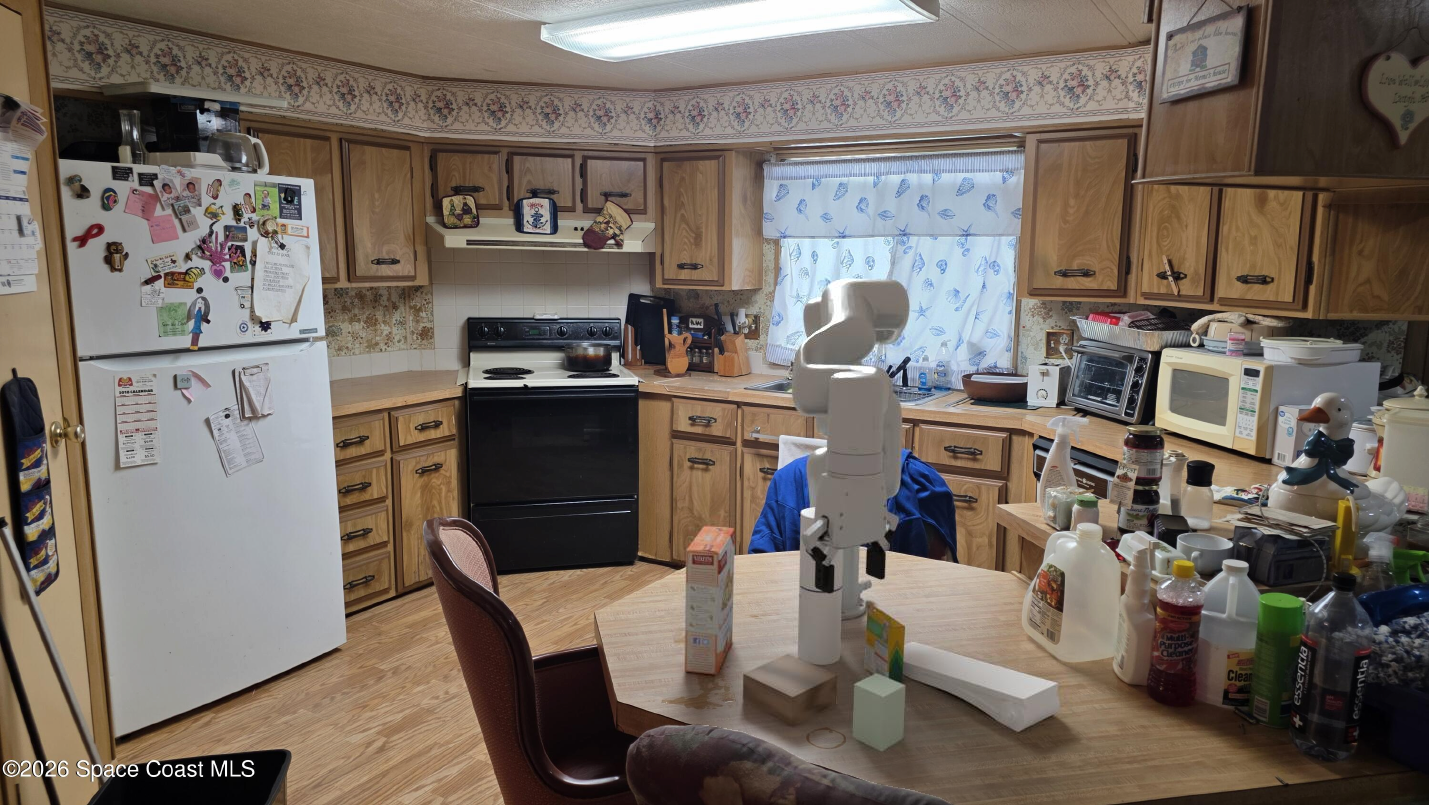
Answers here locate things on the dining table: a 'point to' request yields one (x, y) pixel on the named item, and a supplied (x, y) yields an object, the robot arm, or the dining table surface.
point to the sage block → (878, 711)
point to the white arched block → (984, 685)
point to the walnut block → (790, 690)
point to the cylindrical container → (818, 606)
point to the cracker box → (709, 599)
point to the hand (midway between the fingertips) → (850, 583)
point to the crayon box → (884, 644)
